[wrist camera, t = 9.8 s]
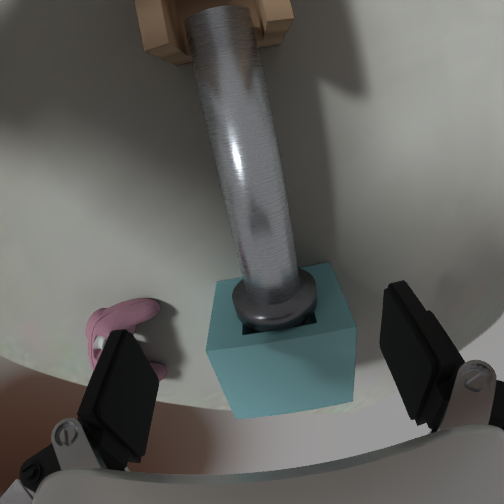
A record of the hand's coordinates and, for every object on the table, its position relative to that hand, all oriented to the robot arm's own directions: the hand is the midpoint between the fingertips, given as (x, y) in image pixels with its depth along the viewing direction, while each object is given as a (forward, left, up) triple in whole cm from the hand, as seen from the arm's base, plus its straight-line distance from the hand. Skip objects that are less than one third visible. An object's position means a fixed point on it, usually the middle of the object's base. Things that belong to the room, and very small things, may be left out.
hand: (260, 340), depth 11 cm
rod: (0, 0, -11) cm, 11 cm away
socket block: (+9, 0, -13) cm, 16 cm away
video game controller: (+9, -13, -13) cm, 21 cm away
